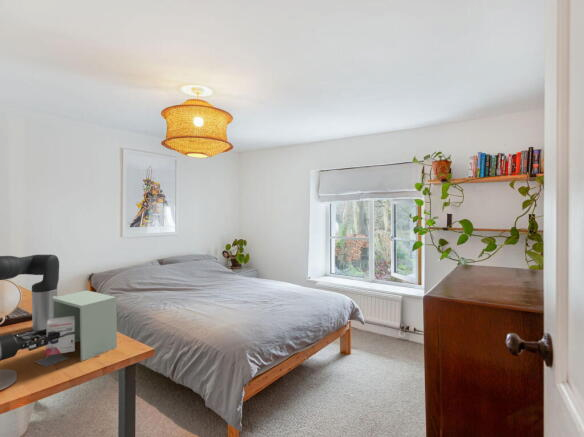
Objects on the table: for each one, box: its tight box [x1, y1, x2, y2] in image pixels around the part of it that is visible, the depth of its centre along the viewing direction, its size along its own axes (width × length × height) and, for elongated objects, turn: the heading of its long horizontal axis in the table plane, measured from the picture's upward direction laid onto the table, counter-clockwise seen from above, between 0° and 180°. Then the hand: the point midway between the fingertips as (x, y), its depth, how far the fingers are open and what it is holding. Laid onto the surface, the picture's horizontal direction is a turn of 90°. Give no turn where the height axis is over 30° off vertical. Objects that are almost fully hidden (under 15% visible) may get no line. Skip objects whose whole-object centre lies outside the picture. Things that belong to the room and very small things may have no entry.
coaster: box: [35, 353, 69, 368], centre depth 116 cm, size 7×7×1 cm
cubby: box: [52, 290, 118, 362], centre depth 126 cm, size 20×13×20 cm, turn 61°
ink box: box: [45, 316, 76, 357], centre depth 118 cm, size 8×5×12 cm, turn 124°
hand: (54, 332), depth 117 cm, fingers closed on ink box, 6 cm apart
